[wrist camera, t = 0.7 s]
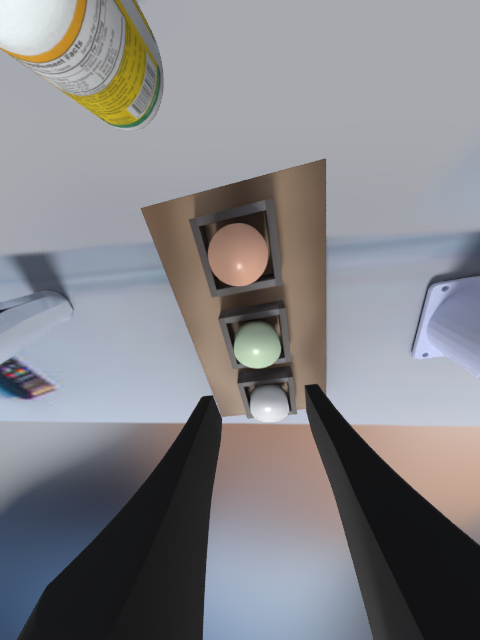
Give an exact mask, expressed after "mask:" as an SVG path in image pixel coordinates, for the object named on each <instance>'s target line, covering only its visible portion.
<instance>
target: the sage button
mask: <svg viewBox="0 0 480 640" xmlns="http://www.w3.org/2000/svg"><path fill="white" fill-rule="evenodd" d="M280 353H281V345H280V341H279V337H278V333H277V331H276V329H275V328H274V327H273V326H272V325H271V324H270V323H268V322H266V321H262V320H252V321H248V322H246V323H244V324H243V325H241V326H240V327H239V328H238V330H237V332H236V335H235V343H234V354H235V357H236V358H237V360H238V361H239V362H240V363H241V364H243V365H245V366H247V367H250V368H264V367H267V366H270V365H272V364H273V363H274V362H275V361H276V360H277V359H278V358H279V356H280Z"/></svg>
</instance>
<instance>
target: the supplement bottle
mask: <svg viewBox="0 0 480 640" xmlns="http://www.w3.org/2000/svg"><path fill="white" fill-rule="evenodd" d="M0 49H2V50H3V51H5V52H6V53H7V54H9V55H10V56H12V57H13V58H15V59H16V60H17V61H19V62H20V63H22V64H23V65H24V66H26V67H28V68H29V69H30V70H32V71H33V72H35V73H36V74H38V75H39V76H40V77H42V78H43V79H45V80H46V81H48V82H49V83H50V84H52V85H53V86H55V87H56V88H58V89H59V90H60V91H62V92H63V93H65V94H66V95H68V96H69V97H71V98H72V99H74V100H75V101H76V102H78V103H79V104H80V105H82V106H84V107H85V108H86V109H88V110H89V111H91V112H92V113H94V114H95V115H96V116H98V117H99V118H101V119H102V120H103V121H105V122H107V123H108V124H110V125H111V126H113V127H115V128H118V129H121V130H125V131H133V130H138V129H141V128H143V127H145V126H146V125H147V124H149V123H150V122H151V120H152V119H153V118H154V117H155V115H156V113H157V111H158V109H159V107H160V103H161V99H162V94H163V68H162V62H161V57H160V53H159V50H158V46H157V43H156V41H155V38H154V36H153V33H152V31H151V29H150V27H149V25H148V23H147V21H146V19H145V17H144V15H143V13H142V11H141V9H140V7H139V5H138V3H137V1H136V0H0Z"/></svg>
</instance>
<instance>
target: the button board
mask: <svg viewBox="0 0 480 640" xmlns="http://www.w3.org/2000/svg"><path fill="white" fill-rule="evenodd" d="M141 210H142V213H143V216H144V218H145V221H146V223H147V226H148V228H149V231H150V233H151V236H152V239H153V241H154V244H155V246H156V249H157V251H158V254H159V257H160V259H161V262H162V264H163V267H164V269H165V272H166V274H167V277H168V280H169V282H170V285H171V287H172V290H173V292H174V295H175V297H176V300H177V303H178V305H179V308H180V310H181V313H182V315H183V318H184V321H185V323H186V326H187V328H188V331H189V333H190V336H191V338H192V341H193V344H194V346H195V349H196V351H197V354H198V356H199V359H200V362H201V364H202V367H203V369H204V372H205V374H206V377H207V379H208V382H209V385H210V387H211V390H212V392H213V395H214V397H215V400H216V402H217V405H218V408H219V410H220V413H221V415H222V417H225V416H236V415H247V418H254V417H253V416H252V414H251V412H250V394H251V391H252V390H253V389H254V388H255V387H256V386H258V385H263V384H272V383H273V384H277V385H279V386H281V387H282V388H283V389H284V390H285V392H286V396H287V400H288V405H289V413H288V415H291V414H297V410H299V409H306V399H305V385H311V384H318V385H319V386H320V388H321V389H322V391H323V392H324V393H325V395H326V159H322V160H319V161H315V162H311V163H308V164H304V165H300V166H296V167H292V168H289V169H285V170H281V171H278V172H274V173H270V174H266V175H263V176H259V177H255V178H252V179H248V180H244V181H241V182H237V183H233V184H229V185H225V186H222V187H218V188H214V189H211V190H207V191H203V192H200V193H196V194H192V195H188V196H185V197H181V198H177V199H173V200H170V201H166V202H162V203H159V204H155V205H151V206H147V207H144V208H141ZM235 223H243V224H247V225H250V226H252V227H253V228H255V229H256V230H257V231H258V232H259V233H260V234H261V235H262V237H263V238H264V240H265V242H266V245H267V249H268V261H267V265H266V268H265V270H264V272H263V273H262V275H261V276H260V277H259V278H258V279H257V280H256V281H254V282H253V283H251V284H248V285H245V286H232V285H228V284H226V283H224V282H222V281H221V280H220V279H219V278H217V277H216V275H215V274H214V273H213V271H212V269H211V267H210V264H209V260H208V249H209V245H210V242H211V240H212V238H213V236H214V235H215V234H216V233H217V232H218V231H219V230H220V229H221V228H223V227H225V226H227V225H230V224H235ZM252 320H262V321H266V322H268V323H270V324H271V325H272V326H273V327H274V328H275V329H276V331H277V333H278V337H279V341H280V345H281V353H280V356H279V358H278V359H277V360H276V361H275V362H274V363H273V364H272V365H270V366H267V367H264V368H250V367H247V366H245V365H243V364H241V363H240V362H239V361H238V360H237V358H236V357H235V354H234V343H235V335H236V332H237V330H238V328H239V327H240V326H241V325H243V324H244V323H246V322H248V321H252Z"/></svg>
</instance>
